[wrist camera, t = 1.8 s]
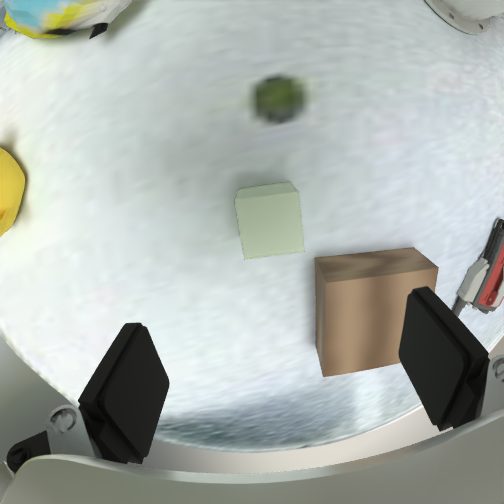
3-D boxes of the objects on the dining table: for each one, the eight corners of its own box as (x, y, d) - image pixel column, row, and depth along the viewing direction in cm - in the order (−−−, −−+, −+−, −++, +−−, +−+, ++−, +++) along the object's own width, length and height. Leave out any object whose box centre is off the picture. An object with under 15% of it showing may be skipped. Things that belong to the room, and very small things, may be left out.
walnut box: (412, 246, 30) (438, 267, 24) (400, 330, 34) (418, 358, 28) (314, 256, 30) (326, 282, 25) (315, 344, 35) (323, 377, 29)
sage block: (290, 181, 27) (298, 191, 22) (295, 230, 29) (304, 251, 24) (239, 188, 28) (234, 200, 22) (247, 236, 30) (244, 259, 24)
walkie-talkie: (487, 210, 28) (429, 338, 35) (508, 220, 24) (442, 357, 31) (516, 229, 28) (464, 342, 35) (535, 239, 24) (476, 358, 31)
